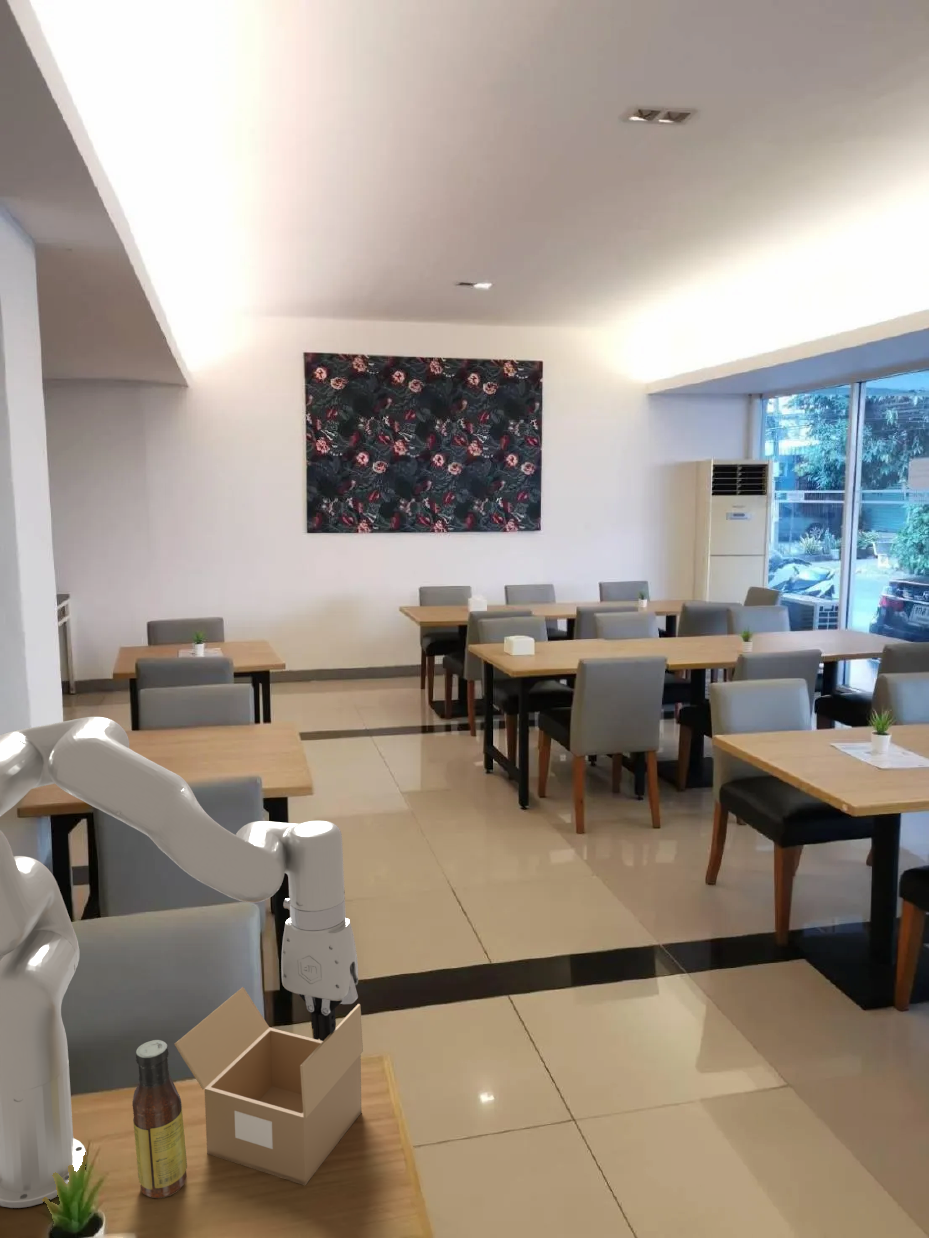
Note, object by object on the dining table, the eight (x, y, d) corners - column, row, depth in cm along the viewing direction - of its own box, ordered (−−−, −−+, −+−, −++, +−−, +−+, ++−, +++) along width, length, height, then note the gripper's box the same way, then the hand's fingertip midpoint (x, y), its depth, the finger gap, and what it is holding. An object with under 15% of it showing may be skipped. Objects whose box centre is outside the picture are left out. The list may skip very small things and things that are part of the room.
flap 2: (360, 1050, 138) (363, 1051, 138) (303, 1117, 123) (306, 1118, 123) (357, 1003, 137) (360, 1004, 137) (300, 1065, 122) (302, 1066, 122)
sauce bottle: (194, 1168, 128) (188, 1035, 125) (176, 1203, 121) (169, 1063, 119) (149, 1165, 128) (142, 1032, 126) (128, 1199, 122) (120, 1060, 119)
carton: (206, 1154, 130) (204, 1088, 129) (271, 1086, 145) (269, 1027, 144) (304, 1185, 125) (303, 1117, 123) (361, 1112, 139) (360, 1050, 138)
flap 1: (204, 1088, 129) (202, 1089, 129) (269, 1027, 144) (267, 1028, 144) (175, 1042, 130) (174, 1044, 130) (243, 986, 145) (241, 987, 145)
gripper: (256, 915, 127) (264, 1039, 130) (352, 932, 121) (358, 1061, 124) (286, 893, 134) (293, 1010, 137) (378, 908, 128) (383, 1030, 131)
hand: (324, 1034), depth 130 cm, fingers closed
